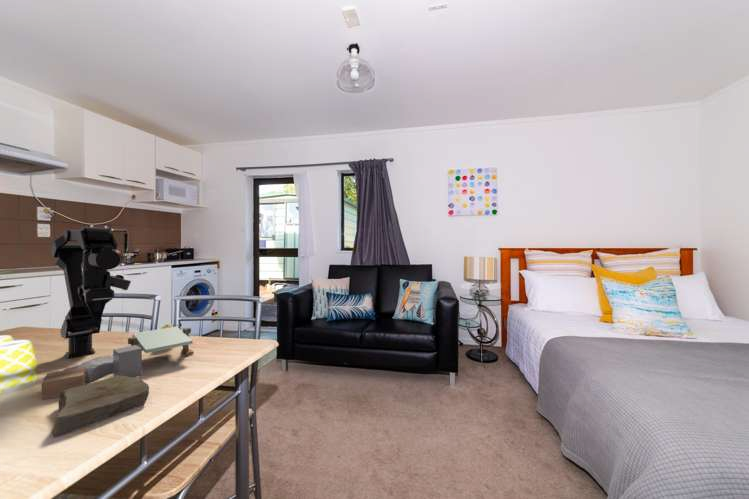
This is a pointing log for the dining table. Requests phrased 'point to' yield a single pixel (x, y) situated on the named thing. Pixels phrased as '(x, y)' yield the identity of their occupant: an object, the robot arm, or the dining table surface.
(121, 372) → the grey block
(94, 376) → the stone block
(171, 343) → the trapdoor
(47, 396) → the plinth
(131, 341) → the trapdoor frame
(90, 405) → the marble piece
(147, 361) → the dining table surface
